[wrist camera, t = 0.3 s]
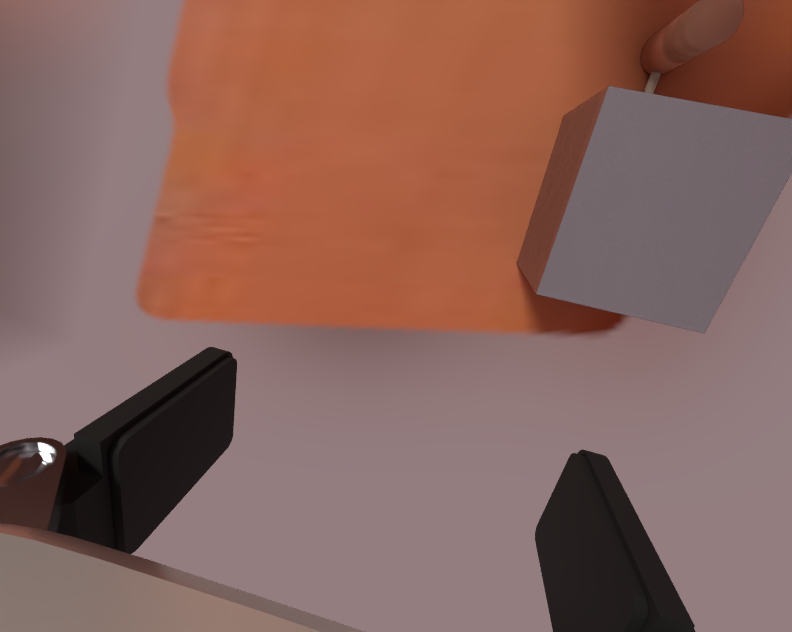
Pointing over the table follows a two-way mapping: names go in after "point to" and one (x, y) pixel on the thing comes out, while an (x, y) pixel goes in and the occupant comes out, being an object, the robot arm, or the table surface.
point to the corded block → (690, 36)
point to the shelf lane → (653, 204)
